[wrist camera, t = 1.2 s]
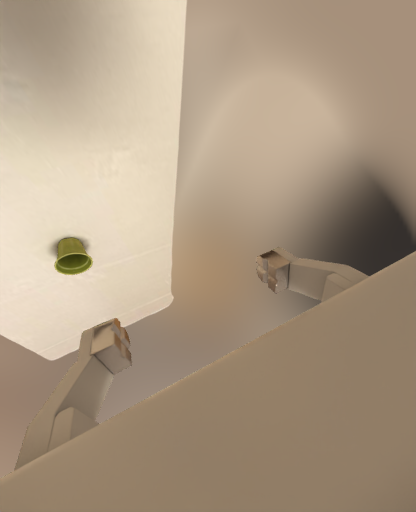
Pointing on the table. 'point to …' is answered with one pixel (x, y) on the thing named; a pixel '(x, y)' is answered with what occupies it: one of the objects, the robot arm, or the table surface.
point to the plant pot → (72, 257)
